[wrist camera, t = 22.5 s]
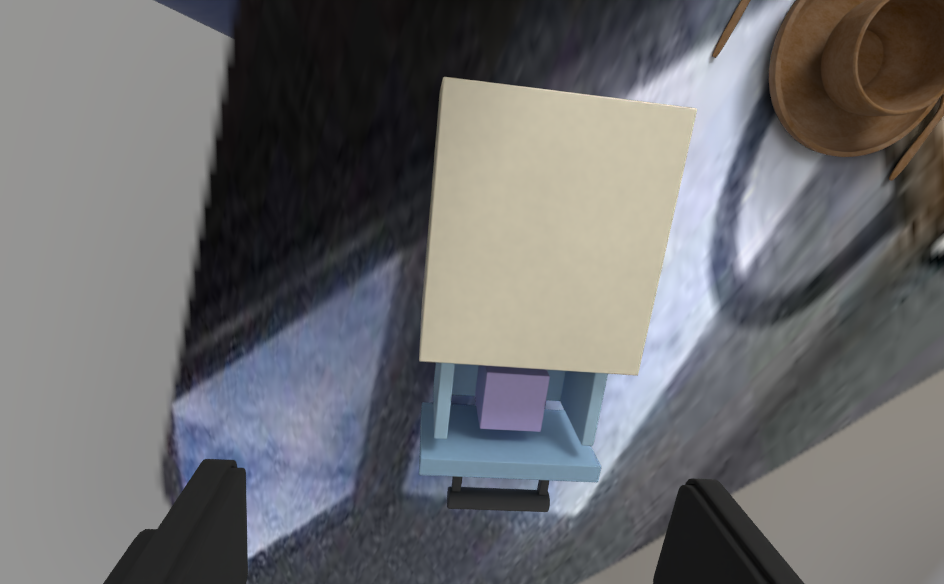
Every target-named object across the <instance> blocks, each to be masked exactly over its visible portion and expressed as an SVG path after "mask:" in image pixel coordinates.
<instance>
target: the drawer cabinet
mask: <svg viewBox="0 0 944 584" xmlns="http://www.w3.org/2000/svg"><path fill="white" fill-rule="evenodd" d="M696 112H697V109H696V108H689V107H681V106H674V105H666V104H658V103H650V102H642V101H634V100H626V99H618V98H610V97H602V96H594V95H586V94H578V93H570V92H562V91H554V90H546V89H538V88H530V87H522V86H514V85H506V84H498V83H490V82H482V81H474V80H466V79H458V78H450V77H444V78H443V80H442V85H441V89H440V95H439V107H438V119H437V131H436V143H435V155H434V167H433V179H432V191H431V203H430V215H429V227H428V239H427V250H426V262H425V274H424V286H423V298H422V311H421V331H420V351H419V361H423V362H438V363H454V364H469V365H484V366H500V367H515V368H531V369H546V370H561V371H577V372H592V373H607V374H623V375H638V372H639V368H640V363H641V359H642V354H643V350H644V345H645V341H646V336H647V332H648V327H649V323H650V318H651V314H652V309H653V305H654V300H655V296H656V291H657V287H658V282H659V278H660V274H661V269H662V265H663V260H664V256H665V251H666V247H667V242H668V238H669V233H670V229H671V224H672V220H673V215H674V211H675V206H676V202H677V197H678V193H679V188H680V184H681V179H682V175H683V170H684V166H685V161H686V157H687V153H688V148H689V144H690V139H691V135H692V130H693V126H694V121H695V117H696Z"/></svg>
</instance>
